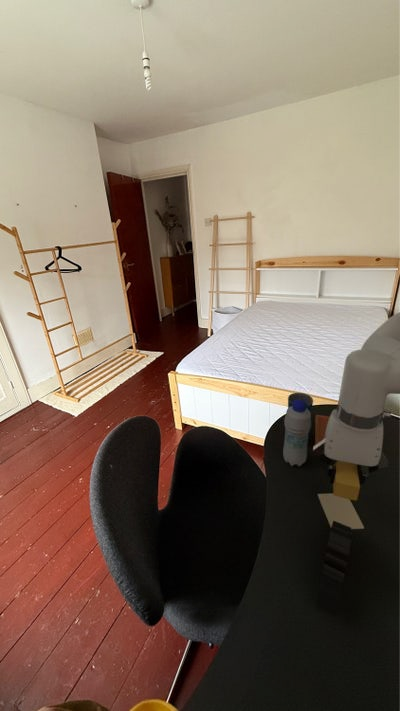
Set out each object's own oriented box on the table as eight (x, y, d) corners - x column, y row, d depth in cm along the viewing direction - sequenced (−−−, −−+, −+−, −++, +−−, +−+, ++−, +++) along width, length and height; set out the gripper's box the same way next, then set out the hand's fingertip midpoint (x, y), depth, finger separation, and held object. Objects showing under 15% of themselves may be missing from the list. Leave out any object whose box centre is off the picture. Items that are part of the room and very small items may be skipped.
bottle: (309, 456, 85) (316, 397, 76) (303, 472, 79) (310, 412, 71) (285, 448, 88) (289, 391, 79) (278, 464, 83) (282, 405, 74)
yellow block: (332, 467, 69) (334, 454, 67) (352, 471, 68) (355, 458, 66) (333, 495, 62) (336, 482, 61) (356, 501, 61) (360, 487, 59)
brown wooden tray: (315, 419, 99) (315, 414, 98) (353, 425, 95) (354, 420, 94) (314, 447, 87) (315, 442, 87) (358, 455, 84) (359, 449, 83)
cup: (285, 446, 89) (288, 405, 82) (285, 431, 94) (287, 391, 88) (309, 449, 87) (314, 407, 80) (307, 433, 93) (312, 393, 86)
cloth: (346, 493, 73) (346, 492, 73) (364, 528, 65) (364, 527, 65) (317, 494, 73) (317, 494, 73) (331, 530, 65) (331, 529, 65)
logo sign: (332, 527, 66) (338, 492, 61) (349, 534, 64) (357, 498, 59) (313, 613, 52) (320, 577, 47) (335, 625, 50) (344, 589, 45)
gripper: (404, 408, 57) (385, 476, 65) (312, 396, 63) (304, 460, 71) (415, 433, 51) (392, 505, 59) (311, 417, 56) (302, 485, 64)
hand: (344, 480), depth 65 cm, fingers closed on yellow block, 4 cm apart
